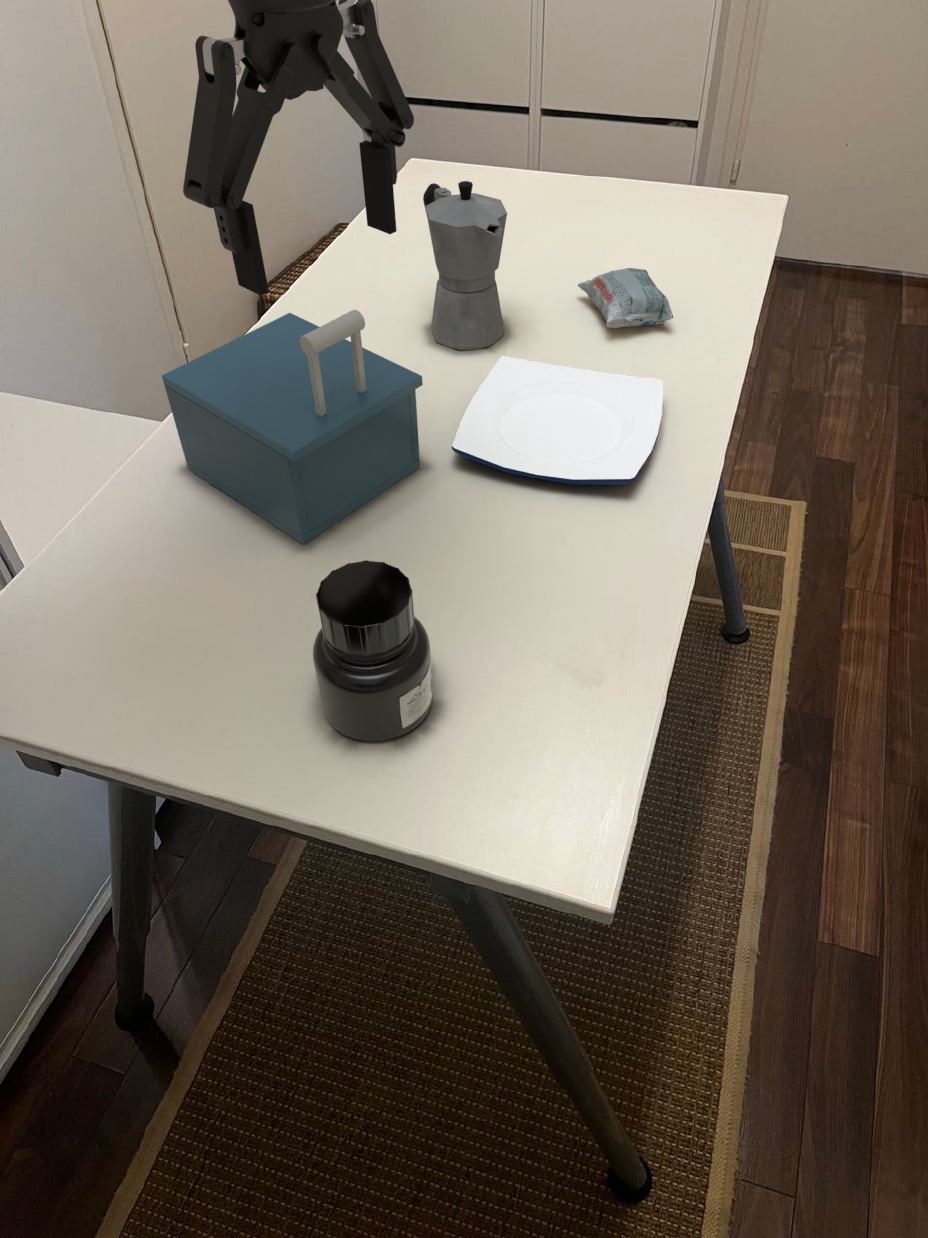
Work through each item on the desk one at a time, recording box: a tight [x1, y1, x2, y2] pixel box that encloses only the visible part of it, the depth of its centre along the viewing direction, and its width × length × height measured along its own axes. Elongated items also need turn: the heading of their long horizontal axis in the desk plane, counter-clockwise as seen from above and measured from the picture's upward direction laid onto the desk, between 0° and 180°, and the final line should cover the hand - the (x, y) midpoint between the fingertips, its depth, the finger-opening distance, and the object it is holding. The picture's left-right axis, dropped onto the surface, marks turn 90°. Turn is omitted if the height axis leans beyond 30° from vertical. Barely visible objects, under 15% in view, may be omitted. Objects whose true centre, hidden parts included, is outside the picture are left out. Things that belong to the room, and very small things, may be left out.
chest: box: [164, 385, 421, 545], centre depth 92 cm, size 18×16×10 cm
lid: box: [161, 309, 424, 462], centre depth 85 cm, size 19×16×9 cm
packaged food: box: [577, 267, 674, 329], centre depth 115 cm, size 9×12×5 cm
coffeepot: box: [422, 180, 508, 351], centre depth 109 cm, size 15×9×18 cm, turn 32°
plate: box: [451, 355, 665, 485], centre depth 98 cm, size 20×20×3 cm
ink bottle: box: [312, 559, 434, 741], centre depth 70 cm, size 10×9×12 cm
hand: (320, 257), depth 74 cm, fingers open, 13 cm apart
